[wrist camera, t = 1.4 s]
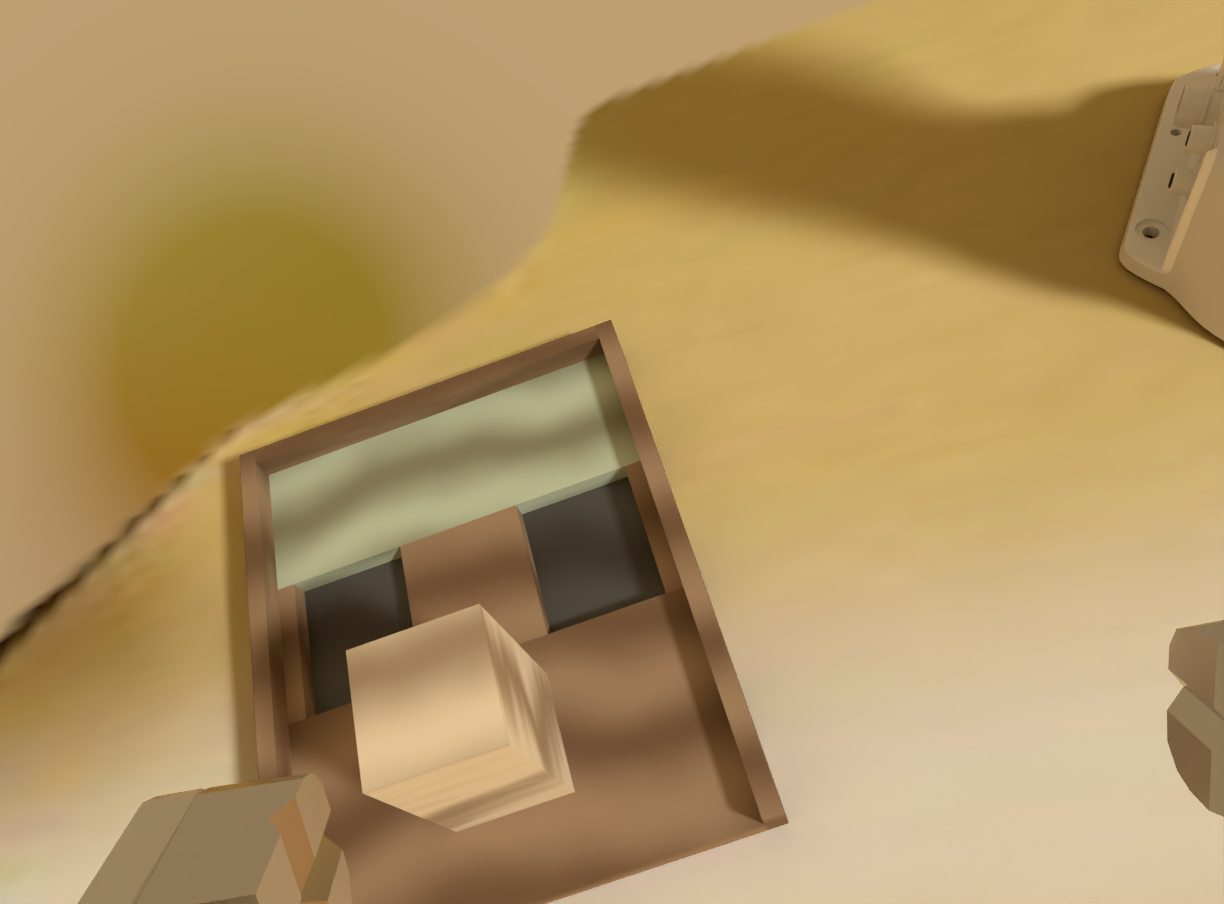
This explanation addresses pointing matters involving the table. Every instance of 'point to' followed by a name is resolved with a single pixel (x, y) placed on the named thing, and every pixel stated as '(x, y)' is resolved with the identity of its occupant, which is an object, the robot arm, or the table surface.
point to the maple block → (455, 722)
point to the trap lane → (503, 622)
